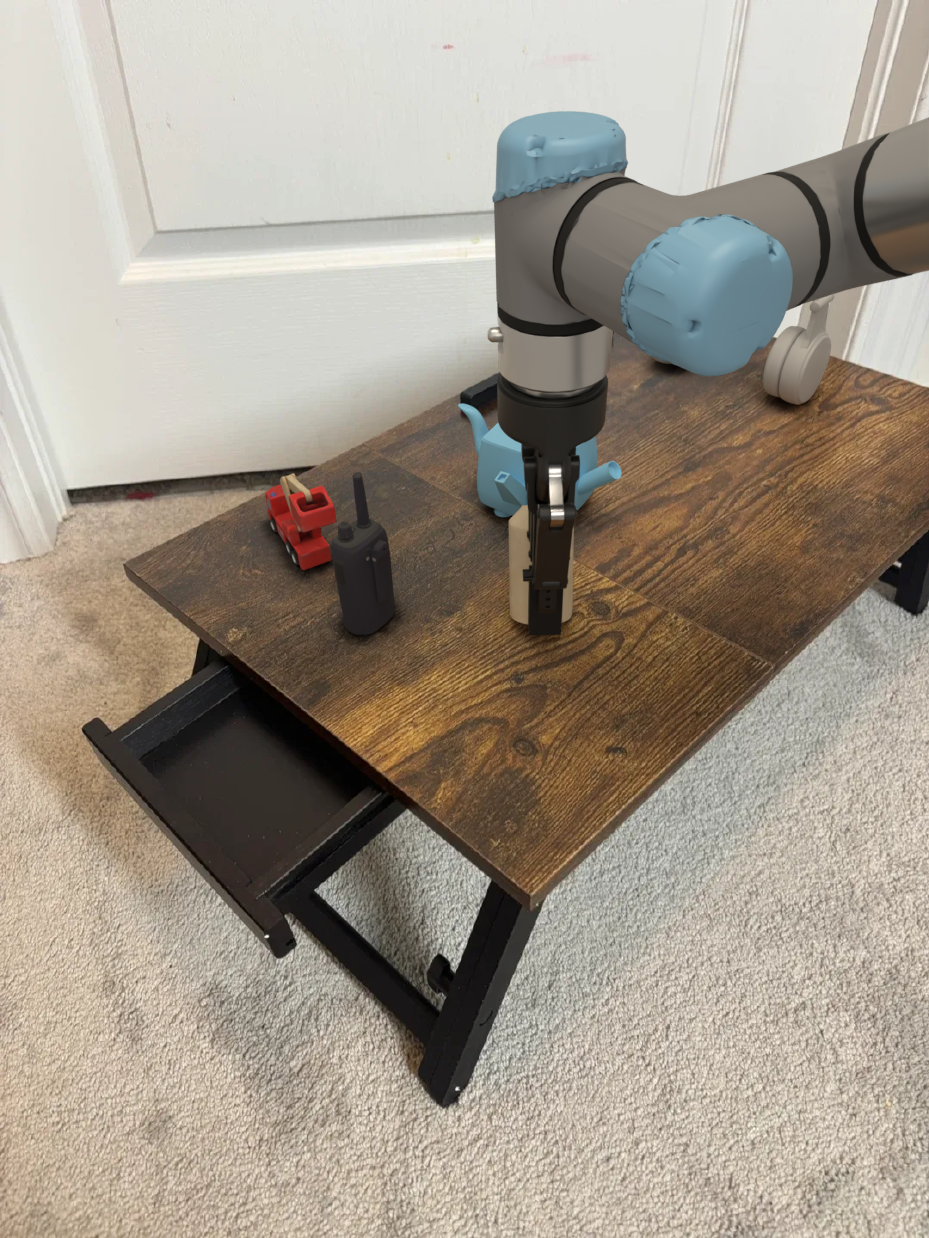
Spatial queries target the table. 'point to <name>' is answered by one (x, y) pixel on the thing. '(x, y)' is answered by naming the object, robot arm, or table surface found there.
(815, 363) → the headphones
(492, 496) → the teapot
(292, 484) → the toy fire truck
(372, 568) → the two-way radio
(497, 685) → the table surface
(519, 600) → the candle
